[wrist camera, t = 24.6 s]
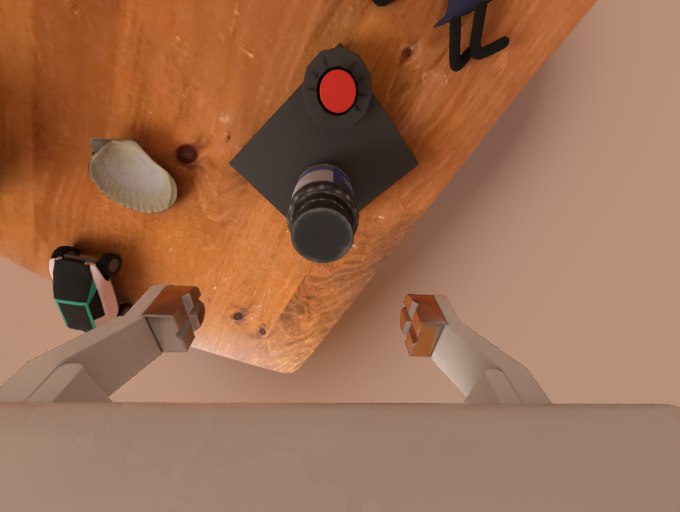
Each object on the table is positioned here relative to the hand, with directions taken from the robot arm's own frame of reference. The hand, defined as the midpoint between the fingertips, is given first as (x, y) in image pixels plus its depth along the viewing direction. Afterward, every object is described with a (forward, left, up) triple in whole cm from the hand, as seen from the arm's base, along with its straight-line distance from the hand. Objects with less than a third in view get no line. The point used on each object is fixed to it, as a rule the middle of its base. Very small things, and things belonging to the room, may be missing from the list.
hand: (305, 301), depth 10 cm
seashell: (+15, -12, -22) cm, 29 cm away
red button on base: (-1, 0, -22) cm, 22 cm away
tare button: (-6, -4, -19) cm, 20 cm away
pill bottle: (+1, +2, -20) cm, 20 cm away
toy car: (+33, -8, -22) cm, 41 cm away
